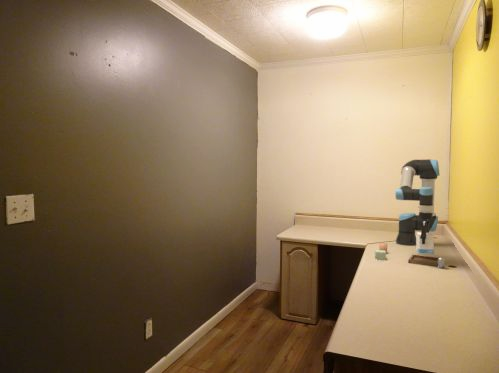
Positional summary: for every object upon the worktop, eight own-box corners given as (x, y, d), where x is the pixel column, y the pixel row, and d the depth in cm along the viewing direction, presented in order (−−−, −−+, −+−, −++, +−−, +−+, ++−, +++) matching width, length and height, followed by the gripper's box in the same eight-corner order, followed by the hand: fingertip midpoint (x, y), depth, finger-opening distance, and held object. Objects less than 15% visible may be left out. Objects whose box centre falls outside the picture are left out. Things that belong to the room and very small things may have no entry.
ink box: (433, 254, 217) (434, 232, 217) (419, 253, 219) (419, 231, 218) (429, 250, 226) (430, 229, 225) (415, 250, 227) (416, 229, 227)
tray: (412, 257, 233) (412, 254, 233) (440, 261, 225) (440, 258, 225) (408, 262, 221) (408, 259, 221) (437, 266, 212) (437, 263, 212)
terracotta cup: (380, 251, 250) (380, 243, 250) (387, 252, 247) (388, 243, 247) (378, 253, 246) (378, 244, 245) (386, 254, 243) (386, 245, 243)
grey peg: (437, 266, 213) (438, 256, 212) (444, 267, 211) (445, 257, 210) (437, 268, 210) (437, 258, 209) (444, 269, 208) (444, 258, 207)
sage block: (374, 257, 235) (375, 249, 235) (384, 257, 233) (384, 250, 233) (375, 259, 229) (375, 252, 229) (385, 260, 228) (385, 252, 227)
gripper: (421, 209, 232) (420, 243, 234) (416, 213, 213) (415, 250, 215) (434, 210, 228) (433, 244, 230) (430, 214, 209) (429, 252, 211)
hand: (424, 247), depth 222 cm, fingers closed on ink box, 10 cm apart
